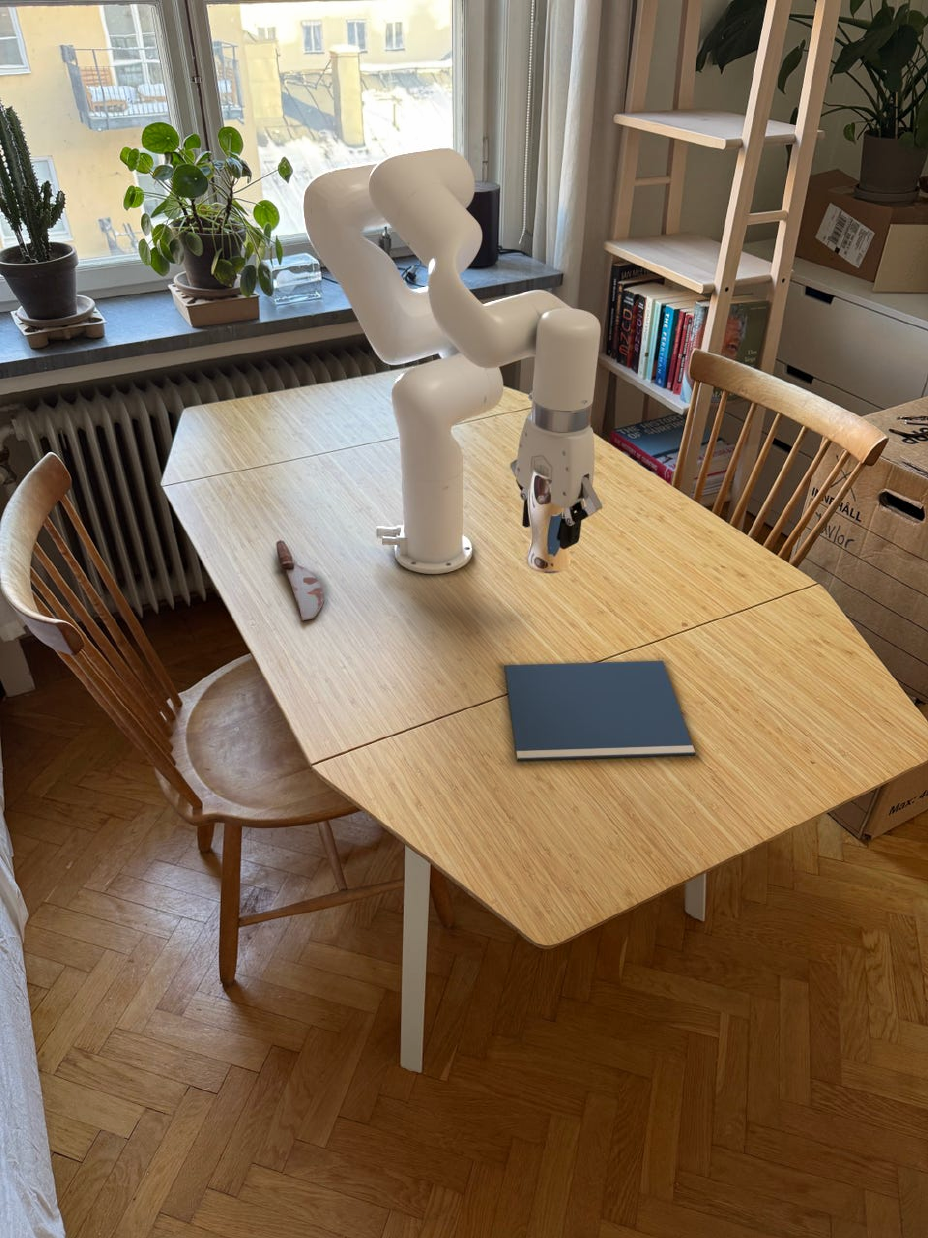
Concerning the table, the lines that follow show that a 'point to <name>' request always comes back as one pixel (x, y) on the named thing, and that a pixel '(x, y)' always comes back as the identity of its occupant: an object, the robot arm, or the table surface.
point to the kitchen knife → (301, 584)
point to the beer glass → (545, 528)
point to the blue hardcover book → (595, 711)
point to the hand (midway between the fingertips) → (550, 533)
